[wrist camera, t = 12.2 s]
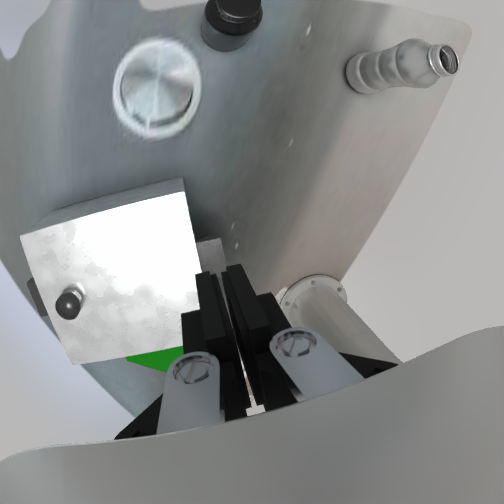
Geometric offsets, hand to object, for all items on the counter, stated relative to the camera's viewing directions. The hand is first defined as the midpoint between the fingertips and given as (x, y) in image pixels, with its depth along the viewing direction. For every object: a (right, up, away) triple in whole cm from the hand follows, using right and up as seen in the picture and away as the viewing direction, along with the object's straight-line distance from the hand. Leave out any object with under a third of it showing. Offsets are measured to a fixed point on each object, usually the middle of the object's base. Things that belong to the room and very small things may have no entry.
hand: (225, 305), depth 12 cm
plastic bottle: (+18, +30, +32) cm, 47 cm away
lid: (-14, -2, +23) cm, 28 cm away
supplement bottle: (-3, +32, +25) cm, 41 cm away
